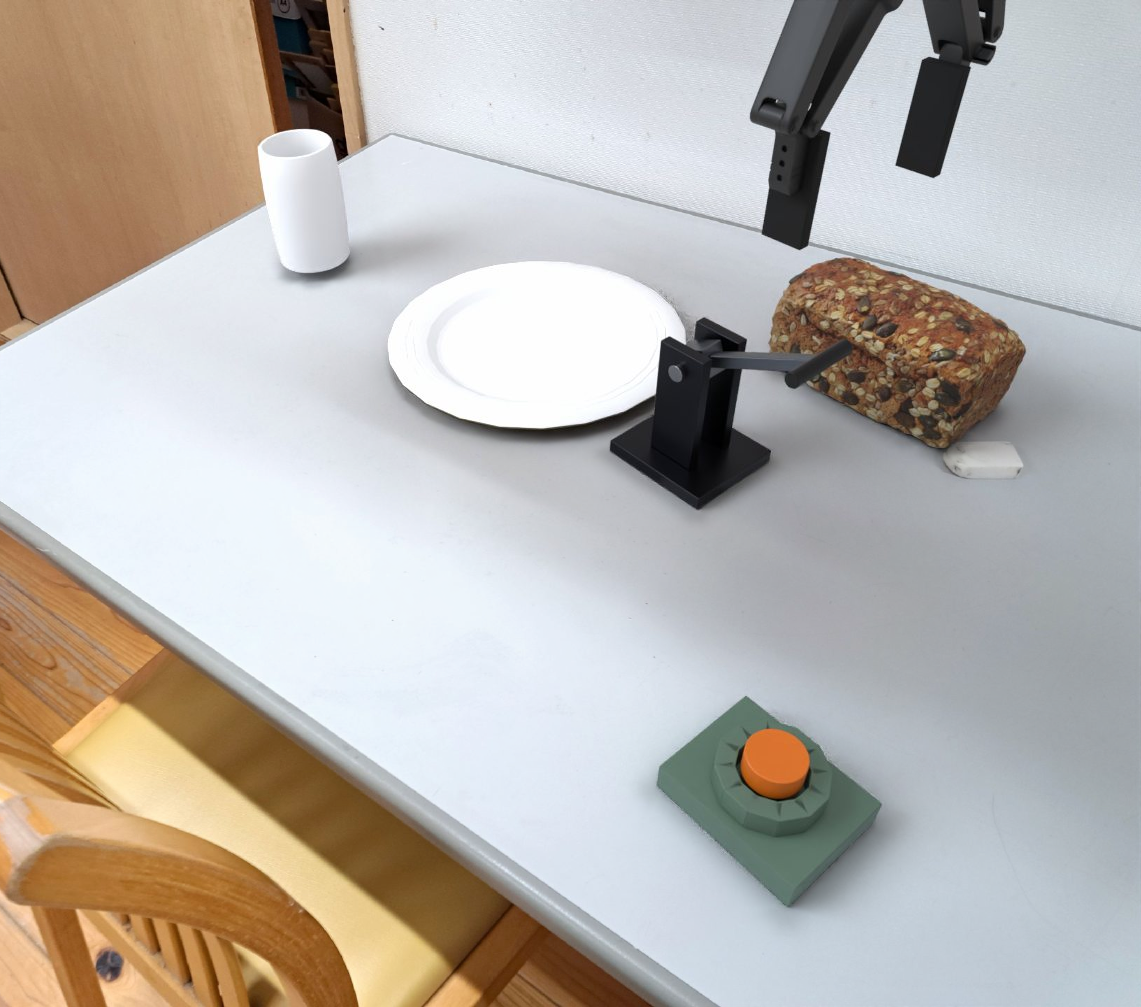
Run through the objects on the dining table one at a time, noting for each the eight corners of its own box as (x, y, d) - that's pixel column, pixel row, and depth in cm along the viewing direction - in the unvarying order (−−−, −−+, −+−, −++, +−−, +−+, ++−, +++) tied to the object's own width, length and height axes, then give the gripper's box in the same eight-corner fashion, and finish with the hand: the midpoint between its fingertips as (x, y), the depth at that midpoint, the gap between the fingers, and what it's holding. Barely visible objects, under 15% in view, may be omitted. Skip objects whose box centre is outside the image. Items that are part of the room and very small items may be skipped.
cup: (268, 262, 111) (241, 141, 101) (332, 240, 114) (313, 120, 104) (299, 292, 106) (274, 167, 96) (366, 268, 109) (349, 145, 99)
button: (817, 774, 55) (823, 758, 54) (777, 811, 54) (782, 795, 53) (767, 734, 57) (772, 717, 56) (727, 768, 56) (731, 752, 55)
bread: (759, 368, 91) (776, 273, 84) (828, 325, 95) (849, 232, 88) (941, 461, 80) (978, 362, 73) (1008, 408, 84) (1049, 309, 77)
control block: (873, 822, 57) (890, 787, 54) (787, 908, 53) (800, 874, 51) (741, 714, 63) (750, 677, 60) (656, 785, 59) (661, 749, 57)
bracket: (769, 461, 81) (794, 343, 73) (697, 510, 77) (714, 391, 69) (680, 408, 87) (694, 293, 79) (609, 450, 83) (616, 335, 75)
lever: (856, 362, 67) (850, 330, 66) (801, 397, 65) (795, 364, 64) (717, 357, 78) (710, 329, 77) (665, 387, 75) (658, 359, 75)
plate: (745, 340, 94) (748, 324, 93) (546, 489, 80) (546, 472, 78) (527, 248, 110) (527, 233, 109) (329, 358, 96) (326, 342, 94)
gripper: (1021, -273, 51) (916, 128, 66) (710, -210, 40) (667, 251, 55) (1170, -269, 47) (1022, 160, 61) (864, -197, 36) (773, 300, 50)
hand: (853, 203), depth 58 cm, fingers open, 12 cm apart
